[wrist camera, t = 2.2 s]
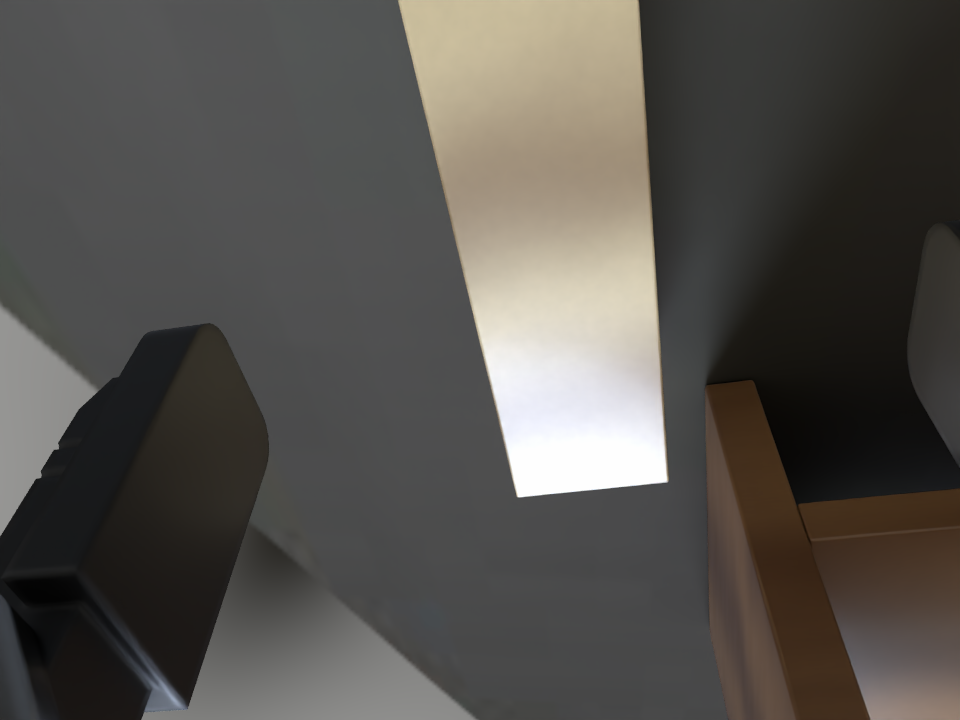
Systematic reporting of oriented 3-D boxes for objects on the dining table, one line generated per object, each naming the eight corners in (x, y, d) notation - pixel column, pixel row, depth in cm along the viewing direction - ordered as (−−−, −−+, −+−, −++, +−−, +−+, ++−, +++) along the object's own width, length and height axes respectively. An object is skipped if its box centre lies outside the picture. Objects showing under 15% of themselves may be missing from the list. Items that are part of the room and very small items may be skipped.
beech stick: (343, -447, 11) (277, -498, 8) (576, -512, 11) (602, -592, 8) (516, 375, 20) (517, 498, 17) (645, 360, 20) (669, 482, 17)
